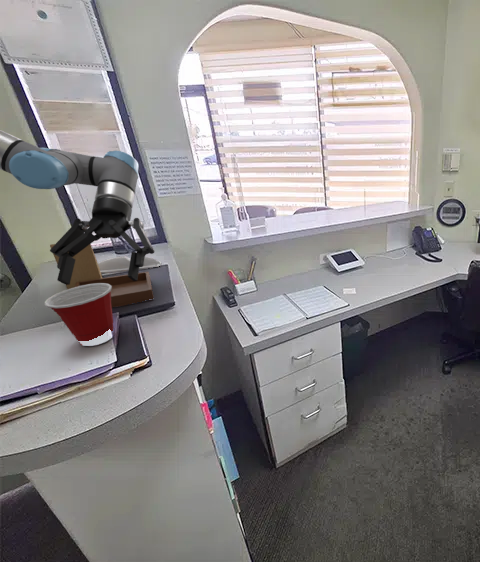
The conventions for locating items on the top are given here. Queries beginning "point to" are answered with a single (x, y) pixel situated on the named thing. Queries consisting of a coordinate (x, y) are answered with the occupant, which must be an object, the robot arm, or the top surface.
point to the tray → (126, 288)
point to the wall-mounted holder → (124, 264)
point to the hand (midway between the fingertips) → (98, 280)
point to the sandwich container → (83, 266)
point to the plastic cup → (84, 310)
